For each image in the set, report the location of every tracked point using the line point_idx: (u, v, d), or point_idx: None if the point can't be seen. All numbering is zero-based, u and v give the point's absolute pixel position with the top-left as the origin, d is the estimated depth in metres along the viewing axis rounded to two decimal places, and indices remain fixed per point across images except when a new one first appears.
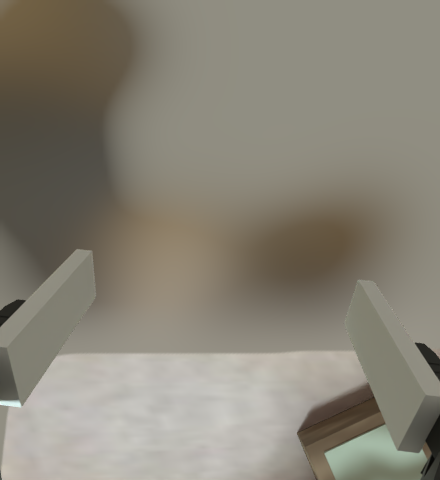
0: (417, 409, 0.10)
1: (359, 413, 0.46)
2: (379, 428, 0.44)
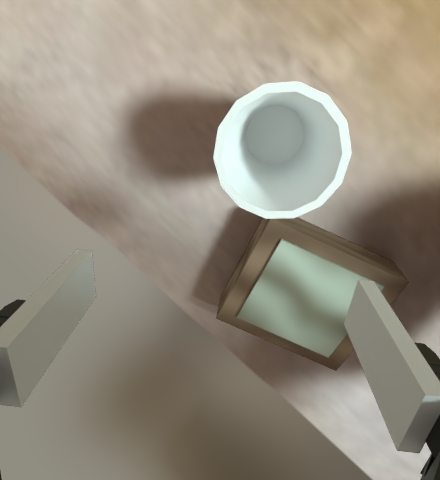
0: (417, 409, 0.10)
1: None
2: (268, 329, 0.39)
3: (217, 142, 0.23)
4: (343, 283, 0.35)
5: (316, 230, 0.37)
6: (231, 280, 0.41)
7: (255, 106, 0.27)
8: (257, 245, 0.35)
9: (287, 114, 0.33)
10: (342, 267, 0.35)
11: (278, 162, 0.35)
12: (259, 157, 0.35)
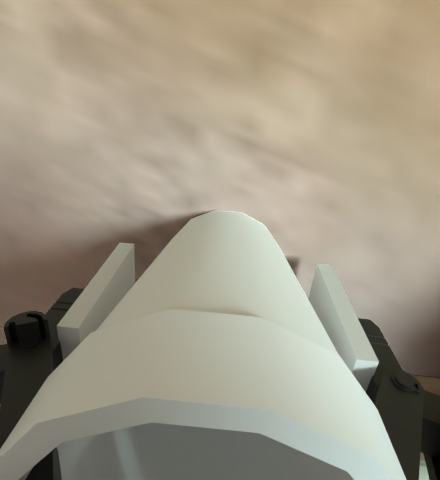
0: None
1: None
2: None
3: None
4: None
5: None
6: None
7: None
8: None
9: None
10: (425, 464, 0.18)
11: None
12: None
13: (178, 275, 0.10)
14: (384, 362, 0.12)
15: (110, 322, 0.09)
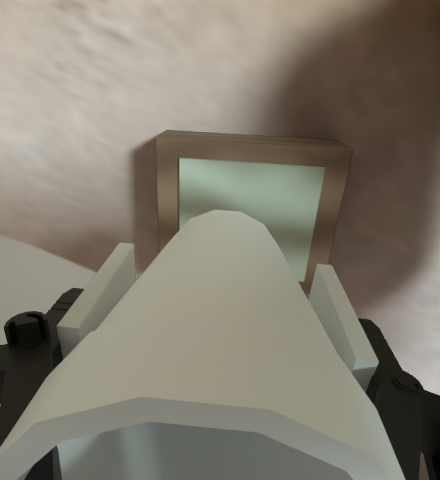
0: None
1: None
2: None
3: None
4: (276, 183, 0.28)
5: (226, 136, 0.30)
6: None
7: None
8: (158, 177, 0.29)
9: None
10: (265, 163, 0.28)
11: None
12: None
13: (177, 275, 0.10)
14: (384, 362, 0.12)
15: (109, 322, 0.09)
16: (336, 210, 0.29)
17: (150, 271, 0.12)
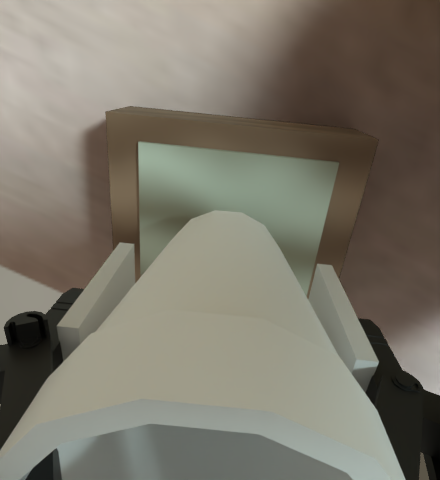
0: (351, 373, 0.12)
1: None
2: None
3: None
4: (271, 182, 0.20)
5: (206, 116, 0.22)
6: None
7: None
8: (110, 167, 0.21)
9: None
10: (256, 154, 0.20)
11: None
12: None
13: (178, 276, 0.10)
14: (384, 362, 0.12)
15: (110, 323, 0.09)
16: (350, 222, 0.22)
17: (150, 272, 0.12)
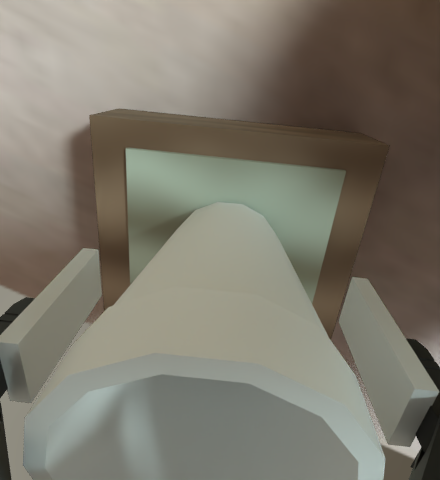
0: (407, 403, 0.11)
1: None
2: None
3: None
4: (271, 192, 0.19)
5: (201, 119, 0.21)
6: None
7: None
8: (96, 175, 0.19)
9: None
10: (255, 161, 0.18)
11: None
12: None
13: (183, 260, 0.11)
14: None
15: (124, 299, 0.10)
16: (357, 234, 0.20)
17: (158, 257, 0.13)
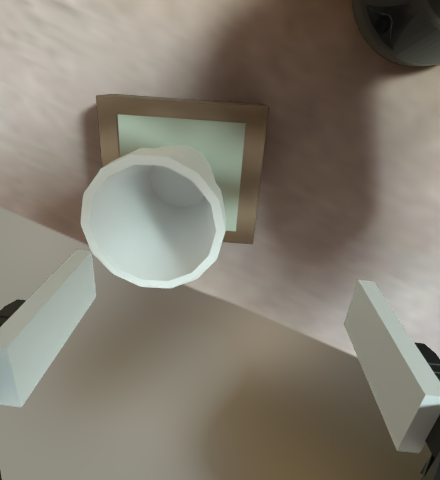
0: (417, 409, 0.10)
1: None
2: None
3: (87, 236, 0.22)
4: (204, 138, 0.32)
5: (163, 98, 0.34)
6: None
7: (125, 176, 0.25)
8: (100, 132, 0.32)
9: None
10: (193, 119, 0.31)
11: (195, 202, 0.34)
12: (175, 204, 0.34)
13: None
14: None
15: None
16: (259, 164, 0.33)
17: None
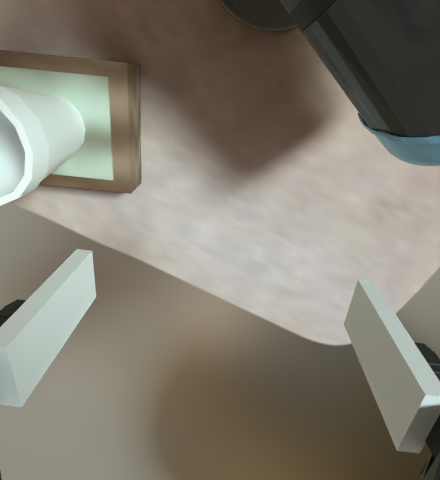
0: (417, 409, 0.10)
1: None
2: None
3: None
4: (72, 89, 0.35)
5: None
6: None
7: None
8: None
9: None
10: (61, 72, 0.35)
11: None
12: None
13: None
14: None
15: None
16: (126, 116, 0.36)
17: None
